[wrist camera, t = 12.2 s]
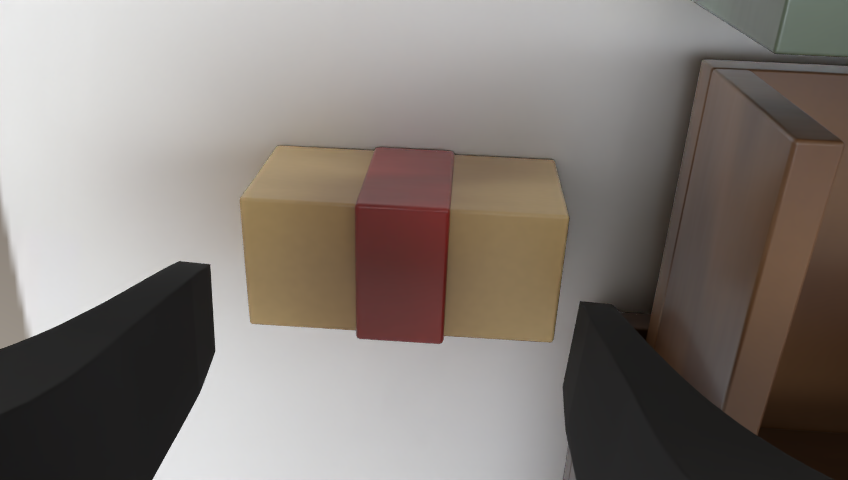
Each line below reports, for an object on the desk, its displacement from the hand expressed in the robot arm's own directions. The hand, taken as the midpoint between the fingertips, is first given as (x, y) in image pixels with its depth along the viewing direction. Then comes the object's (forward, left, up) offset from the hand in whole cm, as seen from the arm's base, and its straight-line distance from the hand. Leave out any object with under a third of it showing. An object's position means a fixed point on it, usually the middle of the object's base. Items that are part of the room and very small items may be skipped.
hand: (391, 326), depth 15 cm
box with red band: (0, 0, -6) cm, 6 cm away
